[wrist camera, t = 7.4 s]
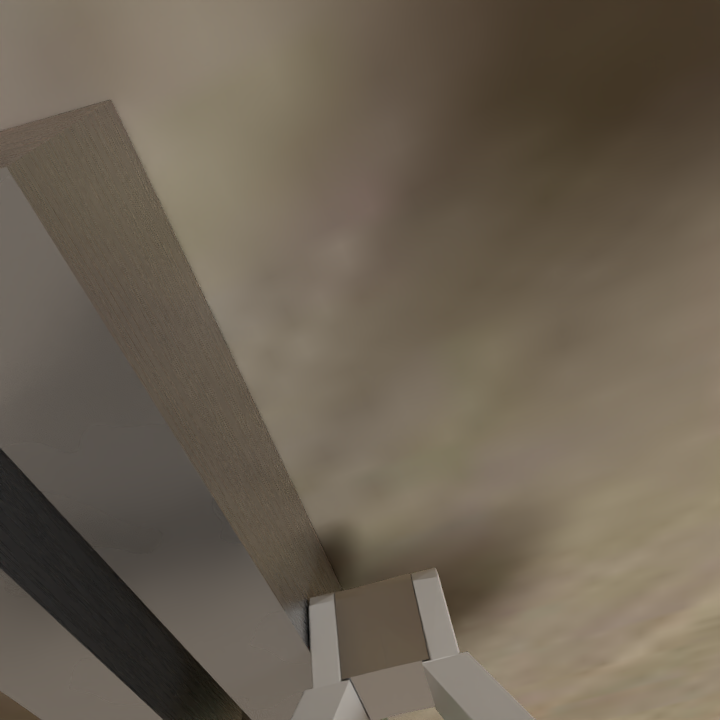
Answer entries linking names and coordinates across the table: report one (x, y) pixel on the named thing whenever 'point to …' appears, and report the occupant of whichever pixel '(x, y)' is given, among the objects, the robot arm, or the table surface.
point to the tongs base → (85, 627)
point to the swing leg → (147, 411)
